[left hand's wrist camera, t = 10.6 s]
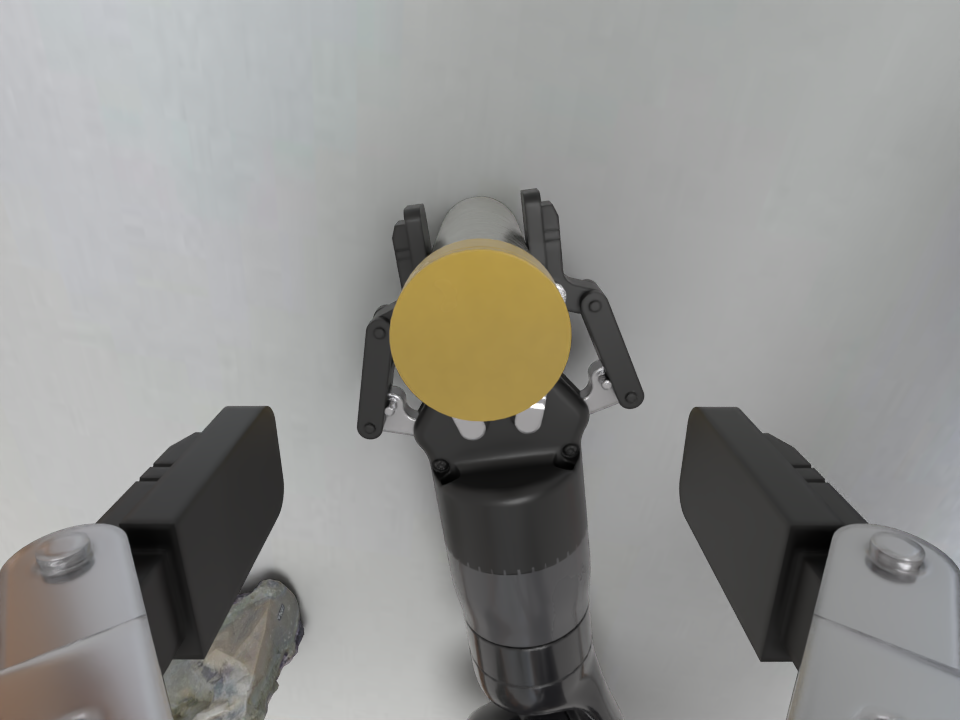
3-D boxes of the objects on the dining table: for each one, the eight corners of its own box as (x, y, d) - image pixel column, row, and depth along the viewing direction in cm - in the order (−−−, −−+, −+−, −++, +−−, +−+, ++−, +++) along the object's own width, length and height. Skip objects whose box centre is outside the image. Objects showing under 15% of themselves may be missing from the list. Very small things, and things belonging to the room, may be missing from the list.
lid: (525, 208, 17) (529, 217, 16) (587, 360, 19) (597, 382, 17) (367, 280, 18) (356, 295, 16) (441, 419, 20) (437, 446, 18)
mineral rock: (117, 658, 43) (18, 804, 34) (121, 539, 40) (11, 666, 30) (296, 689, 45) (247, 839, 35) (316, 576, 41) (268, 710, 31)
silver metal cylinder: (500, 182, 32) (520, 234, 16) (531, 257, 33) (577, 370, 18) (426, 216, 32) (378, 298, 17) (460, 288, 34) (444, 424, 18)
